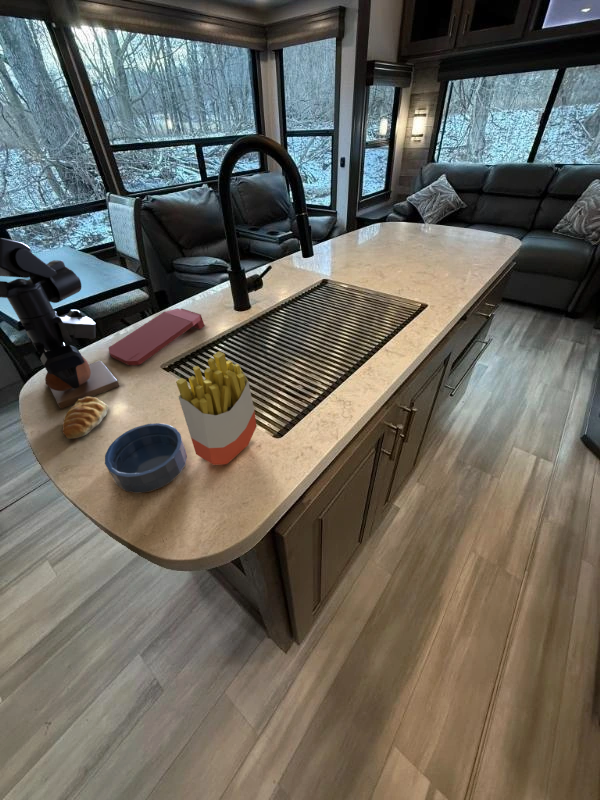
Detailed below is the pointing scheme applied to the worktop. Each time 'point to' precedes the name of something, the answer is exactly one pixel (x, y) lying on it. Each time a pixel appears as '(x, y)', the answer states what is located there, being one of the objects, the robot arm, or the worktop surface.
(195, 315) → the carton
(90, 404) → the pastry
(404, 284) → the worktop surface
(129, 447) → the bowl
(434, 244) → the worktop surface
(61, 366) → the robot arm
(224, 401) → the french fries container
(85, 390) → the flat rectangular box
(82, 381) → the potato
